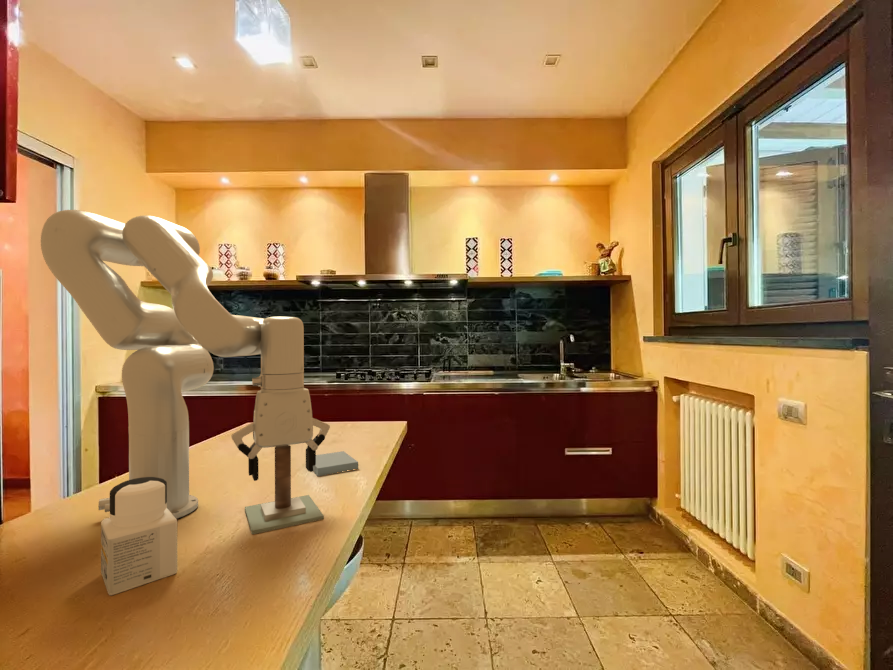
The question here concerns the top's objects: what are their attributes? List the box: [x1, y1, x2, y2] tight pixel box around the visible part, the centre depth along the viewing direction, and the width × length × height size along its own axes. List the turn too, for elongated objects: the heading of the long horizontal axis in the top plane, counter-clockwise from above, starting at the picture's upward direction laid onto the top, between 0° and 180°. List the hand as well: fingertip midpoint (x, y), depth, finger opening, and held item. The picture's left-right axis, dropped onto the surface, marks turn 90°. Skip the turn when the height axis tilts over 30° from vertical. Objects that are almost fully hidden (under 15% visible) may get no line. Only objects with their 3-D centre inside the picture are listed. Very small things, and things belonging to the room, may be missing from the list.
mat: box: [244, 494, 325, 535], centre depth 80 cm, size 12×12×1 cm
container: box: [100, 477, 178, 596], centre depth 60 cm, size 8×8×13 cm
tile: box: [313, 450, 359, 477], centre depth 110 cm, size 2×12×10 cm
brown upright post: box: [260, 445, 306, 521], centre depth 80 cm, size 7×6×12 cm
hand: (283, 474), depth 81 cm, fingers open, 9 cm apart
